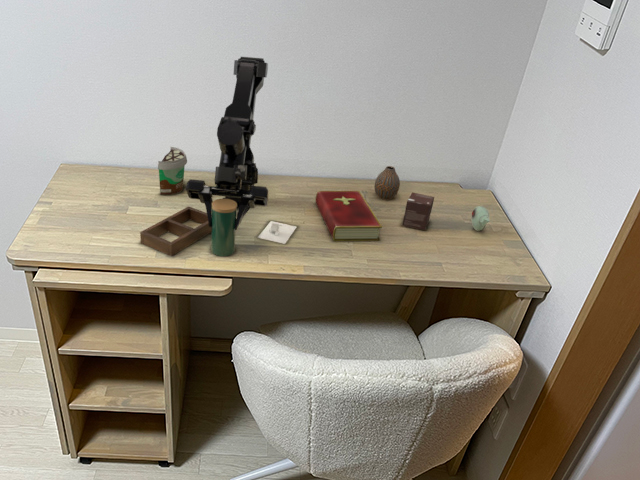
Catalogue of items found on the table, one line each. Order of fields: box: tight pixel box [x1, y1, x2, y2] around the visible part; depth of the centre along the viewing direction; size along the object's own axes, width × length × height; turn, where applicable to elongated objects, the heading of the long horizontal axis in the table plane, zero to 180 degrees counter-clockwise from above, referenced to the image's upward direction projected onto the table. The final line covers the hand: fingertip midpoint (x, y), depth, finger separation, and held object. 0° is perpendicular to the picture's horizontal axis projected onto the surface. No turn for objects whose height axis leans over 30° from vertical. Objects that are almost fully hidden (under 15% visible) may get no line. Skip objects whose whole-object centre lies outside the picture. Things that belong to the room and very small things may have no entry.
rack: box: [139, 206, 212, 257], centre depth 149 cm, size 18×10×3 cm, turn 145°
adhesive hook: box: [268, 221, 282, 236], centre depth 152 cm, size 3×3×3 cm
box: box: [402, 192, 435, 231], centre depth 159 cm, size 6×6×7 cm
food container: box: [157, 146, 188, 196], centre depth 169 cm, size 12×6×10 cm, turn 168°
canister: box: [210, 198, 238, 257], centre depth 141 cm, size 6×6×12 cm
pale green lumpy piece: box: [470, 205, 491, 232], centre depth 158 cm, size 8×4×7 cm, turn 175°
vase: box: [373, 165, 401, 201], centre depth 172 cm, size 7×7×9 cm
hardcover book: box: [315, 190, 383, 242], centre depth 159 cm, size 12×21×4 cm, turn 6°
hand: (222, 228), depth 140 cm, fingers closed on canister, 5 cm apart
